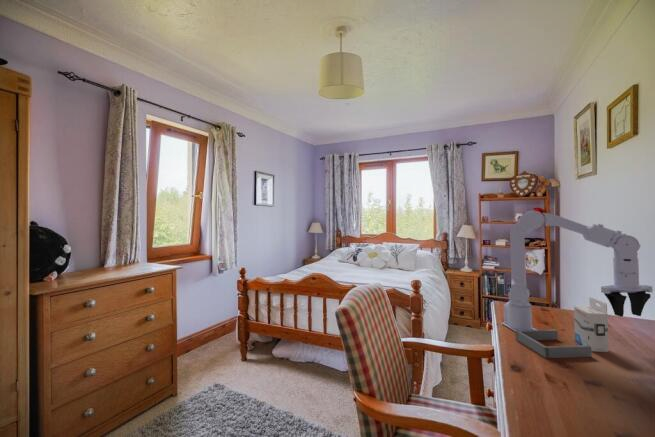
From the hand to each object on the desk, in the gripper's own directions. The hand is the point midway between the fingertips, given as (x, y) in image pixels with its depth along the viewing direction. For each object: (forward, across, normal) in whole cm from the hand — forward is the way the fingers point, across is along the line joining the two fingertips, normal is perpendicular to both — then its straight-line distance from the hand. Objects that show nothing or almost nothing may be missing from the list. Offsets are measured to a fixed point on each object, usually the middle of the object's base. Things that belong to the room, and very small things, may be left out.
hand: (627, 315), depth 96 cm
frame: (+9, -25, 0) cm, 26 cm away
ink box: (+10, -12, 0) cm, 15 cm away
